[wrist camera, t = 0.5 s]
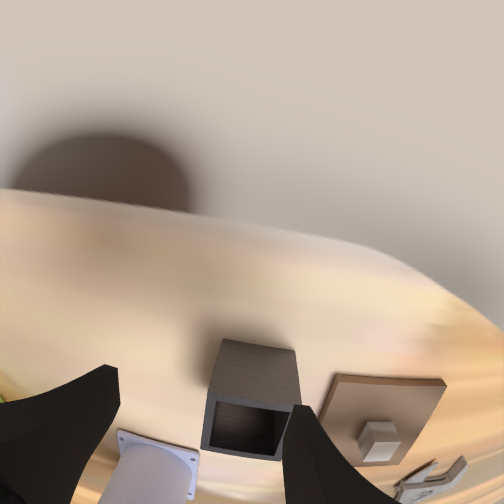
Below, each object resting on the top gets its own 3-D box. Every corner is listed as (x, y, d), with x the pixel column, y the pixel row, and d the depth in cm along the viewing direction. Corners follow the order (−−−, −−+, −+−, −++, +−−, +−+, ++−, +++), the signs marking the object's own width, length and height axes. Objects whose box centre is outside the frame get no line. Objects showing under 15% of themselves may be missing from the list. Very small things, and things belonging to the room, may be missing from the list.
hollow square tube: (279, 404, 22) (280, 461, 16) (214, 393, 22) (200, 449, 16) (295, 351, 21) (302, 406, 15) (223, 338, 21) (207, 391, 15)
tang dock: (396, 457, 23) (405, 482, 20) (300, 458, 23) (303, 486, 20) (442, 379, 21) (460, 403, 17) (336, 374, 21) (345, 403, 17)
